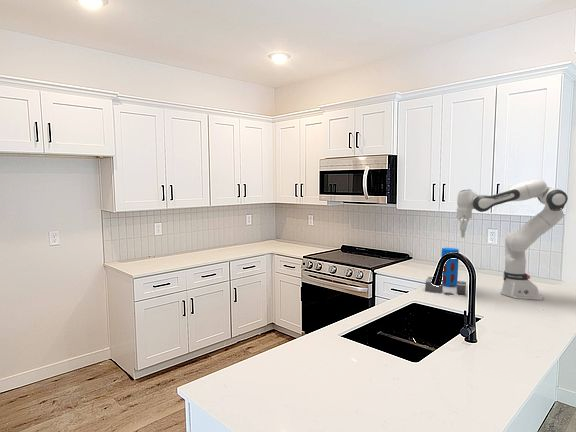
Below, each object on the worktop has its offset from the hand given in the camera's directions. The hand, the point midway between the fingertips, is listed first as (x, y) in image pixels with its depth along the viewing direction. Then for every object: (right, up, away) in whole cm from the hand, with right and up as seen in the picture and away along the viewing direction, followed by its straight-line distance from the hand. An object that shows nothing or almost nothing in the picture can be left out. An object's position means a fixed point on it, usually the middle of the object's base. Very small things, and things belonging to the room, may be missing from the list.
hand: (462, 236), depth 250 cm
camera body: (-17, -35, +3) cm, 39 cm away
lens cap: (-11, -36, -5) cm, 38 cm away
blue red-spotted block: (-2, -34, +18) cm, 39 cm away
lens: (-4, -36, -5) cm, 36 cm away
